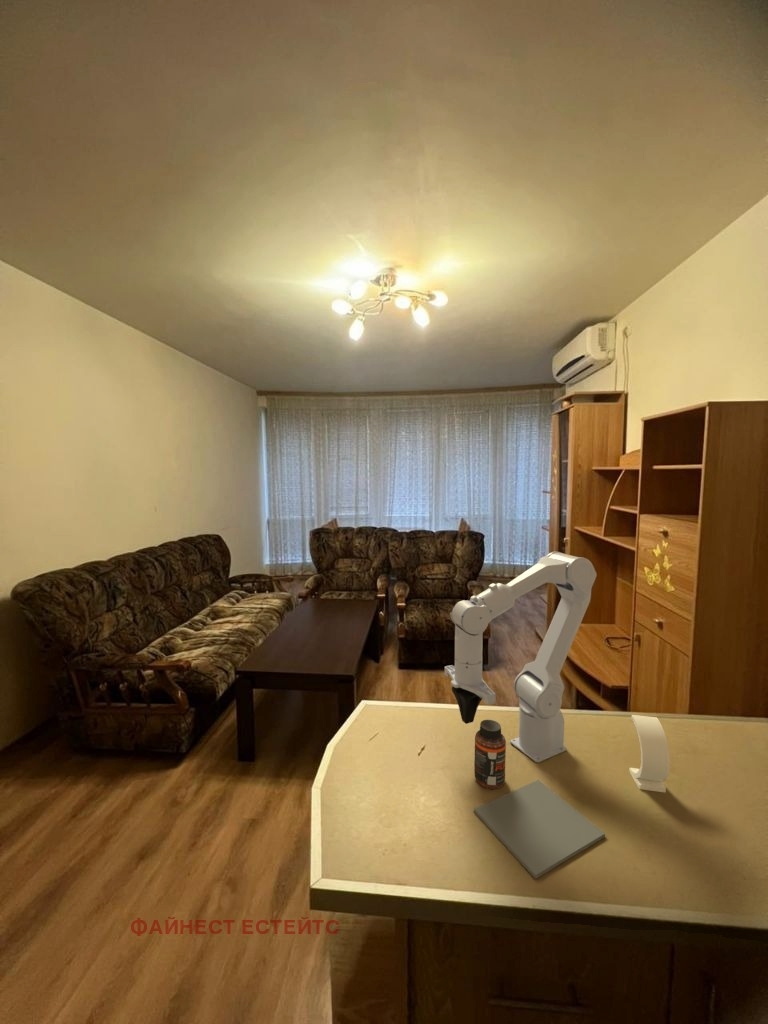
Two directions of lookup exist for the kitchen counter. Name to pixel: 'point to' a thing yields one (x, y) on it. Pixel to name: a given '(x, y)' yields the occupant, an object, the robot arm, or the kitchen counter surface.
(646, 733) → the headphone stand
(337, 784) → the kitchen counter surface
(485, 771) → the supplement bottle
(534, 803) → the mat
